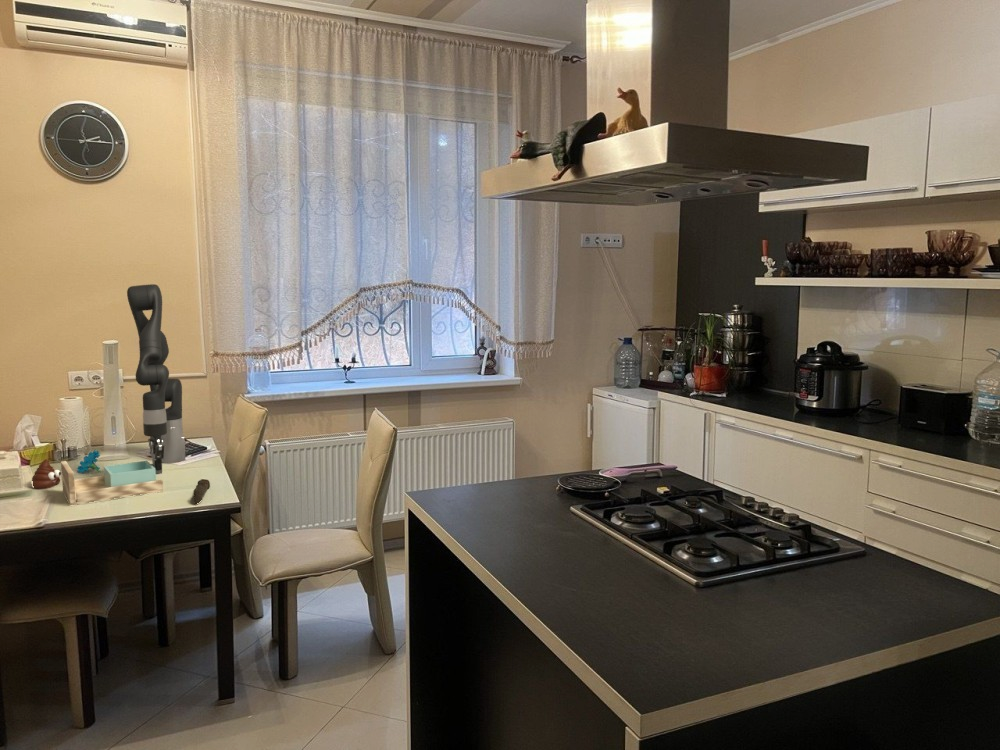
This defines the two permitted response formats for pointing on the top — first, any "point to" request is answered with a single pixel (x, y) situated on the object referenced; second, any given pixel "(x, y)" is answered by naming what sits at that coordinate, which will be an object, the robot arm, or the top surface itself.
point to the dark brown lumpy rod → (201, 490)
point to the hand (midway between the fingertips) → (157, 468)
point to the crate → (130, 473)
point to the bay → (100, 488)
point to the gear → (89, 462)
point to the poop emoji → (45, 476)
